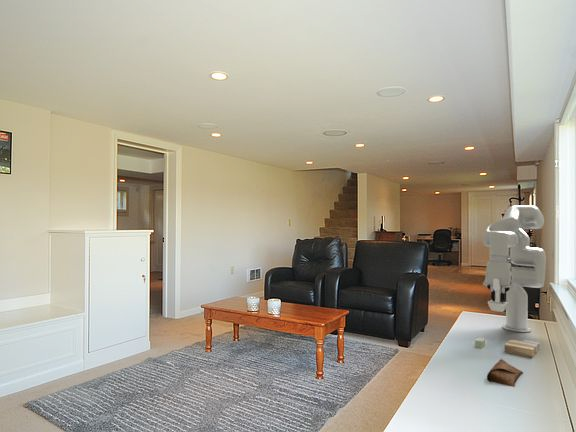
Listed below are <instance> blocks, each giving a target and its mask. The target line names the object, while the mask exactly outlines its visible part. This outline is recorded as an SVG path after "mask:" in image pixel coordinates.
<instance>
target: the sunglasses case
mask: <svg viewBox="0 0 576 432" xmlns="http://www.w3.org/2000/svg"><path fill="white" fill-rule="evenodd" d="M523 373H524V372H523V371H522V370H520V369H518V368H517V367H515V366H513V365H511V364H509V363H508V362H506V360H505V359H502V358H501V359H499V360H498V362H496V363H495V364H494V365H493V366H492V368H491V369H490V370H489V372H488V373H487V375H486V380H488V382H490V383H493V384H500V385H504V386H508V387H513V388H515V386H516V385H515V384H516V382H517V380H518V379H519V377H520V376H521V375H522V374H523Z"/></svg>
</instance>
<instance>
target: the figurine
mask: <svg viewBox="0 0 576 432" xmlns="http://www.w3.org/2000/svg"><path fill="white" fill-rule="evenodd" d="M493 289H494V291H495V301H492V299H490V300H488V301H487V302H486V303H487V304H488V307H489V309H490V311H493V312H498V313H499V312H500V313H503V312H506V307H507V305H508V303H509V302H506V301H504V302H500V295H501V292H502V286H500V285H499V279H496V278H495V279H494V280H493Z"/></svg>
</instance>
